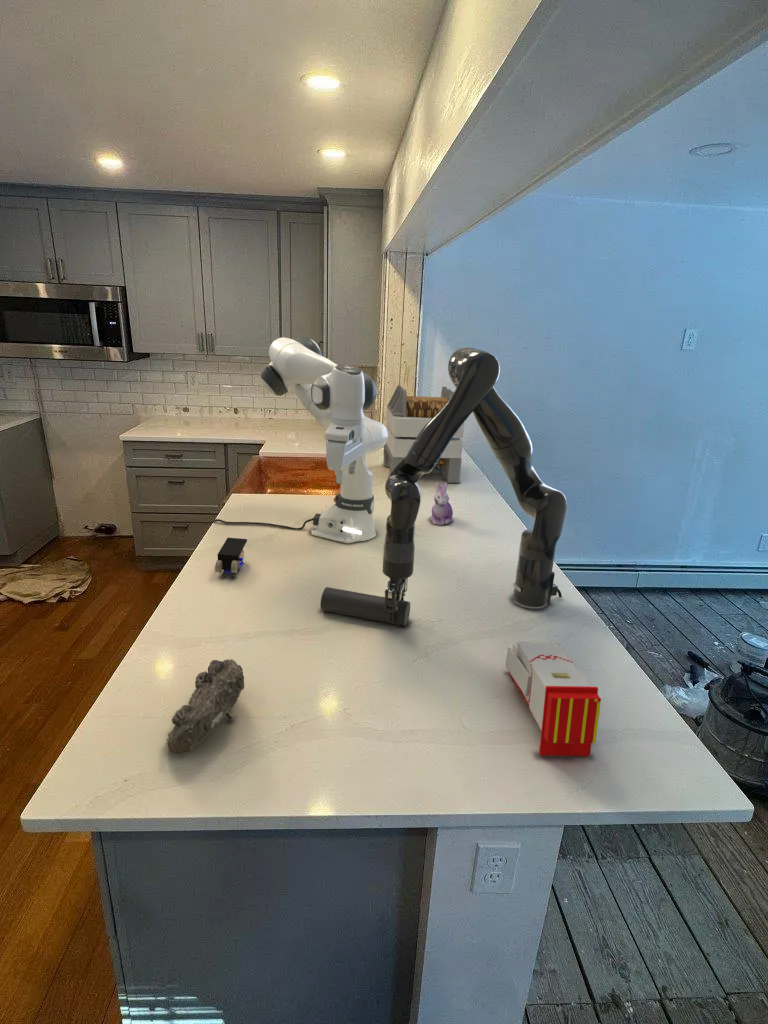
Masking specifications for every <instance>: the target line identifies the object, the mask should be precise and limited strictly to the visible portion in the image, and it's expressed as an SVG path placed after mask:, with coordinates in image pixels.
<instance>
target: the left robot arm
mask: <svg viewBox="0 0 768 1024" xmlns="http://www.w3.org/2000/svg"><path fill="white" fill-rule="evenodd" d="M268 357H269V359H270V362H269V363H268V364H267V365H266V366H264V368H263V370H262V371H261V374H260V379H261V381H262V384H263V386H264V388H266V390H267V391H268V392H270V393H272V394H273V395H275V396H279V397H282V396H284V395H285V394H287V393H289V391H290V390H291V389H294V393H295V395H296V397H297V399H298V400H299V402H300V403H301V404H302V406H303V407H304V408H305V409H306V410H307V412H308V413H310V415H311V416H312V417H313V418H314V419H315V420H316V421H317V422H318V423H319V425H321V427H323V428H324V429H325V432H324V440H325V447H326V448H325V453H326V454H325V456H326V466H327V469H328V470H329V471H334V475H335V483H336V484H339V485H340V488H339V489H340V490H339V491H338V492H337V494H336V495H335V496H334V497H333V502H334V504H333V505H331V506H329V507H328V508H326V509H325V510H323V512H321V513H315V514H314V515H313V517H312V518H309V519H307V520H305V521H304V522H303V523H302V526H301V527H291V526H288V525H282V524H277V523H269V522H258V521H257V522H256V521H226V520H222V519H219V518H216V519H214V520H212V521H211V523H212V524H213V523H215V522H220V523H223V524H226V525H260V526H271V527H277V528H284V529H289V530H294V531H295V530H297V531H301V530H303V529H304V528H305V527H306V524H307V523H310V522H312V528H311V530H310V533H311V536H315V537H319V538H323V539H326V540H330V541H336V542H339V543H343V544H352V543H357V542H365V541H368V540H372V539H373V538H375V537H376V535H377V532H376V528H375V523H374V513H373V512H374V509H375V496H374V473H373V471H372V470H371V469H369V468H368V467H367V462H366V456H367V455H370V454H374V453H376V452H378V451H379V450H381V449H382V448H384V446H385V444H386V443H387V440H388V432H387V429H386V425H384V424H383V423H382V422H380V421H377V420H375V419H372V418H370V417H368V416H366V415H365V414H364V411H368V410H369V408H371V407H372V406H373V404H374V403H375V401H376V400H377V397H378V388H377V385H376V383H375V381H374V379H373V378H372V377H371V375H369V374H368V373H366V372H365V373H364V372H363V370H362V369H361V368H360V367H358V366H356V365H351V364H346V363H345V364H343V363H342V364H340V363H338V362H336V361H333V360H331V359H329V358H326V357H325V356H323V353H322V351H321V347H320V346H319V345H318V344H317V342H316V341H315V340H313V339H312V338H310V337H308V336H305V335H303V336H300V337H298V338H296V339H292V338H290V337H278V338H276V339H274V341H273V342H271V344H270V346H269V349H268Z"/></svg>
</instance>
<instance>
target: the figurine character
mask: <svg viewBox="0 0 768 1024" xmlns="http://www.w3.org/2000/svg"><path fill="white" fill-rule="evenodd" d="M247 542H248V538H240V537H226V539H225V541H224V543H223V544H222V546H221V547H220V549H219V551H218V552H217V560H216V562H215V564H214V572H215V573H221V577H222V578H224V577H225V576H226V574H227V573H230V574H231V573H232V574H231V578H234V577H235V575H236V573H237V572H239V571H240V567H242V566H243V565H244V564H245V562H244V558H245V551H244V547H245V546H246V544H247Z"/></svg>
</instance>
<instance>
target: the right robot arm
mask: <svg viewBox="0 0 768 1024" xmlns="http://www.w3.org/2000/svg"><path fill="white" fill-rule="evenodd" d="M447 370H448V371H447V372H448V376H449V379H450V381H451V382H452V384H453V386H454V387H455V390H454V394H453V395H452V397H451V398H450V400H449V401H448V403H447V404H446V405H445V406H444V407H443V409H442V410H441V411H440V412H439V413H438V414H437V415H435V416H434V417H433V418H432V419H431V420H430V421H429V422H428V423H427V424H426V425H425V426H424V428H423V429H422V430H421V431H420V433H419V434H418V436H417V438H416V439H415V441H414V443H413V444H412V446H411V448H410V450H409V451H408V453H407V455H406V456H405V457H404V458H403V459H402V460H401V461H400V463H399V464H398V465H397V466H396V467H395V469H394V470H393V471H392V472H391V474H390V473H389V475H388V477H387V479H386V480H385V484H384V491H385V495H386V496H387V498H388V499H389V500H390V513H389V515H388V516H387V517H386V521H385V533H384V534H385V535H384V543H383V554H382V555H383V556H382V574H384V576H386V577H387V578H389V580H388V581H387V585H386V587H387V588H386V589H384V597H385V611H388V615H387V622H388V623H387V624H391V625H392V624H393V625H396V624H395V623H396V621H397V610H398V602H399V601H401V600H403V601H405V597H406V592H407V591H408V581H409V578H411V576H413V574H414V565H415V550H416V548H415V547H416V545H415V537H416V536H415V533H416V521H417V518H418V515H419V512H420V507H421V502H422V495H421V493H422V492H421V488H420V486H419V485H418V482H419V480H420V479H421V478H422V477H423V475H425V474H430V473H431V472H432V471H433V470H434V469H435V467H436V466H435V465H436V464H437V462H438V460H439V459H440V457H441V455H442V454H443V452H444V450H445V449H446V447H447V445H448V444H449V442H450V441H451V439H452V438H453V436H454V435H455V433H456V432H457V431H458V429H459V428H460V427H461V425H462V424H463V423H464V424H465V422H466V421H467V419H468V418H469V417H470V416H471V414H473V416H474V418H475V420H476V422H477V424H478V426H479V428H480V430H481V432H482V434H483V435H484V438H485V439H486V442H487V444H488V446H489V448H490V449H491V451H492V453H493V455H494V457H495V458H496V460H497V461H498V463H499V466H500V467H501V469H502V470H503V472H504V474H505V476H506V477H507V479H508V481H509V483H510V485H511V487H512V490H513V492H514V494H515V497H516V500H517V503H518V505H519V507H520V509H521V510H522V512H523V513H524V514H525V515H527V516H528V517H530V518H532V519H534V523H533V526H532V528H528V529H525V530H522V532H521V536H520V543H519V550H518V556H517V557H518V558H517V564H516V572H515V579H514V583H513V586H512V587H513V593H512V601H513V603H515V604H516V605H517V606H519V607H521V608H524V609H529V610H541V609H544V608H546V607H547V606H548V605H550V604H551V599H552V597H554V596H558V598H560V599H561V598H562V597H563V595H562V592H561V590H560V589H559V586H558V585H556V584H555V582H554V581H555V576H556V575H555V572H554V571H553V568H554V561H555V554H556V549H557V543H558V541H559V540H560V538H561V535H562V531H563V528H564V523H565V518H566V513H567V505H568V504H567V497H566V495H565V494H564V493H563V492H562V491H560V490H558V489H556V488H554V487H551V486H549V485H547V484H546V483H544V482H543V481H542V480H541V478H540V477H539V475H538V473H537V472H536V470H535V468H534V465H533V454H534V452H533V451H534V449H533V444H532V441H531V438H530V436H529V434H528V432H527V430H526V428H525V426H524V425H523V422H522V421H521V419H520V418H519V417H518V415H517V414H516V412H514V411H513V409H512V408H511V407H510V406H509V405H508V404H507V403H506V402H505V400H504V399H502V397H501V396H500V395H499V394H498V392H497V390H496V389H495V387H494V386H495V384H496V383H497V381H498V379H499V377H500V372H501V371H500V370H501V367H500V362H499V360H498V358H497V357H496V356H495V354H492V352H491V353H490V352H488V351H486V350H482V349H478V348H475V347H470V346H469V347H468V346H467V347H466V346H465V347H461V348H458V349H456V350H455V351H454V352H453V353H452V354H451V356H450V358H449V360H448V364H447ZM390 604H392V605H390Z"/></svg>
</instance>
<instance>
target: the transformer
mask: <svg viewBox="0 0 768 1024" xmlns="http://www.w3.org/2000/svg"><path fill="white" fill-rule="evenodd" d="M454 392H455V390H454V391H453V390H452V389H451V388H447V386H442V387H441V392H440V393H441V394H440V396H415V395H414V396H413V395H412V396H411V395H407V394H408V393H407V390H406V389H404V388H403V387H402V385H399V384H398V385H397V386H396V388H395V390H394V392H393V394H392V395H391V398H390V400H389V402H388V404H387V405H386V413H385V414H386V415H385V423H386V425H385V427H386V429H387V432H388V440H387V443H386V444H385V446H383V466H384V467H388V468H389V475H390V474H391V472H392V471H393V470H394V469H395V467H396V466H397V465H398V464H399V463H400V461H401V460H402V459H403V458H404V457H405V456H406V455H407V453H408V451H409V450H410V448H411V446H412V444H413V443H414V441H415V439H416V438H417V436H418V434H419V433H420V431H421V430H422V429H423V428H424V426H425V425H426V424H427V423H428V422H429V421H430V420H431V419H432V418H433V417H434V416H435V415H437V414H438V413H439V412H440V411H441V410H442V409H443V407H444V406H445V405H446V404H447V403H448V401H449V400H450V398H451V397H452V395H453V394H454ZM464 429H465V422H464V423H463V424H462V425H461V427H460V428H459V429H458V431H457V432H456V433H455V435H454V436H453V438H452V439H451V441H450V442H449V444H448V445H447V447H446V449H445V450H444V452H443V454H442V455H441V457H440V459H439V460H438V462H437V464H436V465H435V467H436V468H437V470H438V469H439V473H440V474H441V475H443V478H444V479H445V482H447V484H448V483H449V484H455V483H456V484H459V483H461V472H462V461H463V460H462V453H463V442H464V441H463V440H462V439H463V438H464V431H465V430H464Z"/></svg>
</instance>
